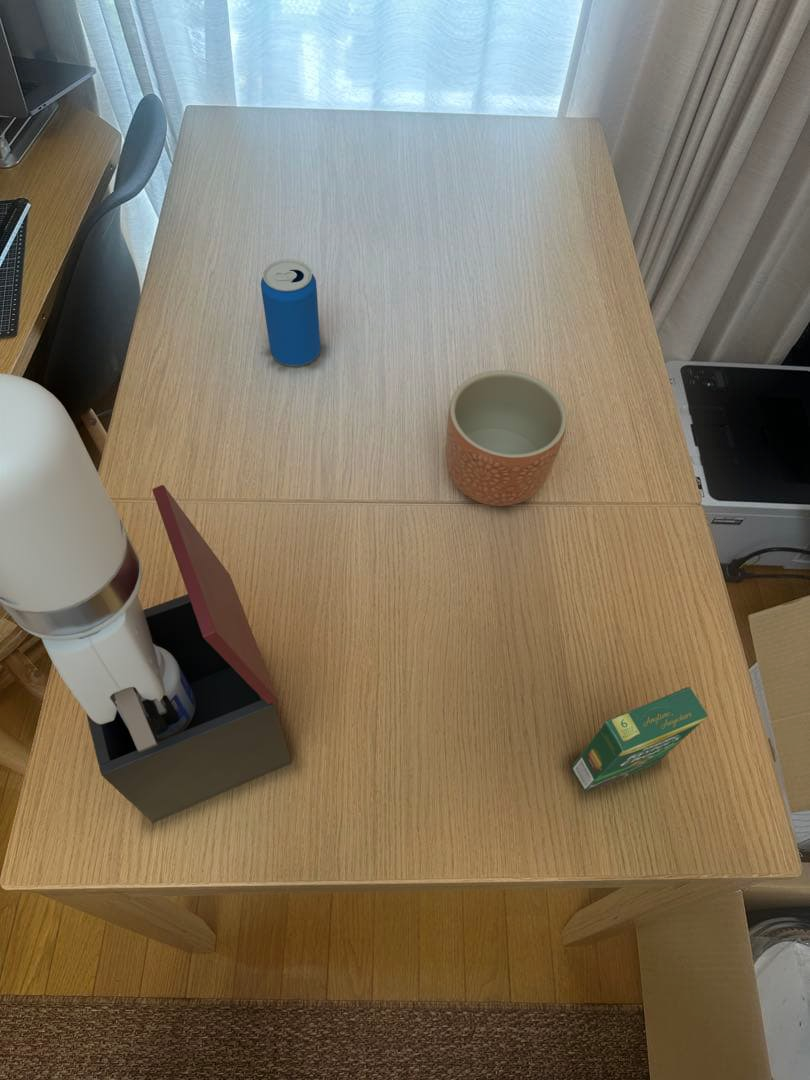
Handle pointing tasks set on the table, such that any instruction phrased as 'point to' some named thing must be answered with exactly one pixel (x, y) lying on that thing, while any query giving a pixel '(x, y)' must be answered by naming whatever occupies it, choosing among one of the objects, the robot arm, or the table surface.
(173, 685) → the pill bottle
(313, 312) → the beverage can
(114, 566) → the robot arm
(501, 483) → the planter
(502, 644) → the table surface
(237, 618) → the keepsake box lid
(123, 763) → the dark gray box
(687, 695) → the coffee box
